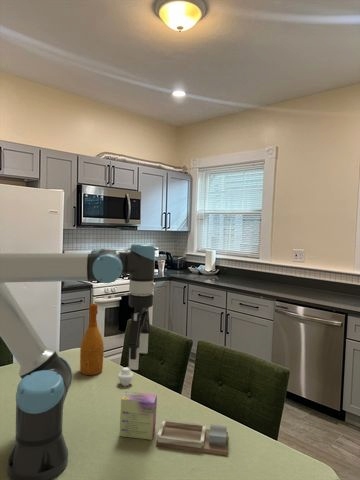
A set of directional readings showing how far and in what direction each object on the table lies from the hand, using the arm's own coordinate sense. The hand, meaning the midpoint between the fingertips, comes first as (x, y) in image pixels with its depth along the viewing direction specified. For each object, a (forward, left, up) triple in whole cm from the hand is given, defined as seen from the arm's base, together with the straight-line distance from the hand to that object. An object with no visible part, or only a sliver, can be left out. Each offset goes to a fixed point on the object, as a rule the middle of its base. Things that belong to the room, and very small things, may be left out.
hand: (138, 360), depth 113 cm
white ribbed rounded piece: (+31, +13, -23) cm, 41 cm away
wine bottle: (+39, +31, -23) cm, 55 cm away
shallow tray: (-1, -18, -23) cm, 29 cm away
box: (-1, -1, -23) cm, 23 cm away
